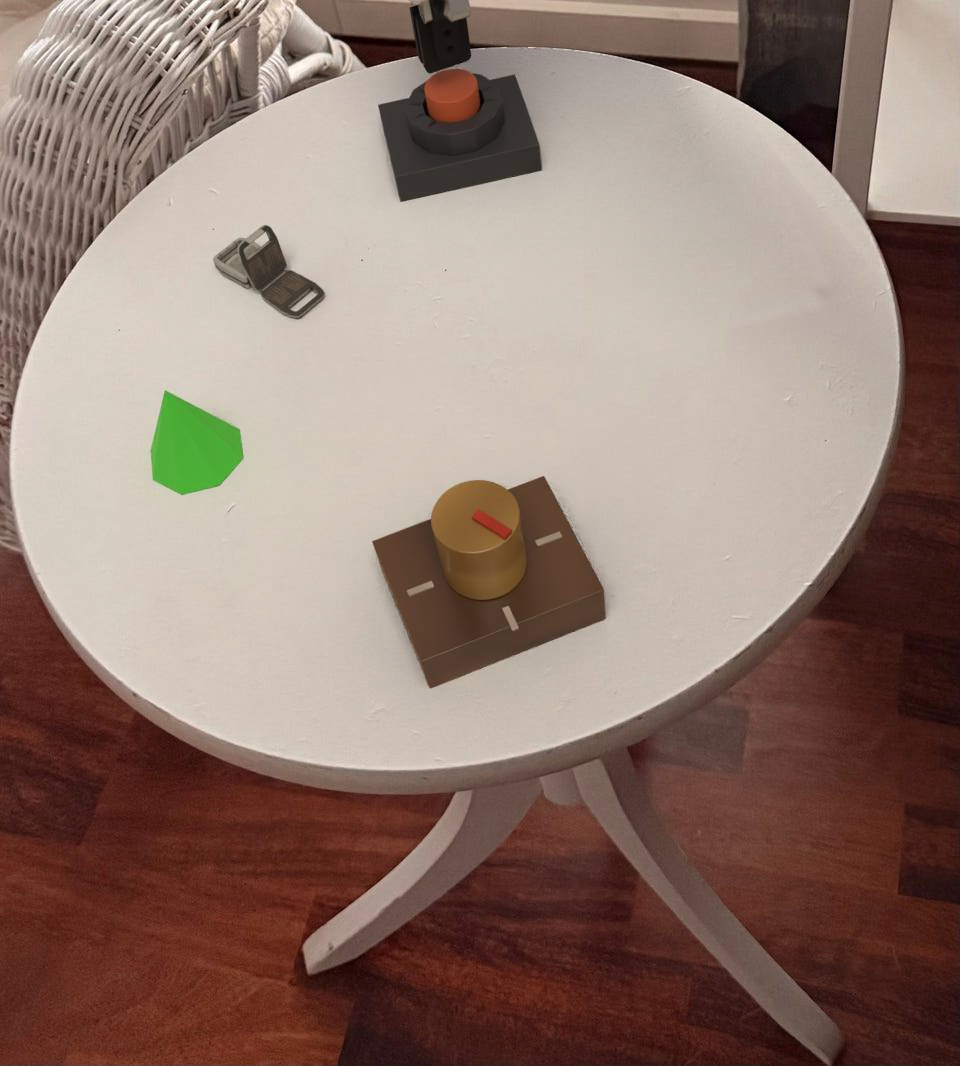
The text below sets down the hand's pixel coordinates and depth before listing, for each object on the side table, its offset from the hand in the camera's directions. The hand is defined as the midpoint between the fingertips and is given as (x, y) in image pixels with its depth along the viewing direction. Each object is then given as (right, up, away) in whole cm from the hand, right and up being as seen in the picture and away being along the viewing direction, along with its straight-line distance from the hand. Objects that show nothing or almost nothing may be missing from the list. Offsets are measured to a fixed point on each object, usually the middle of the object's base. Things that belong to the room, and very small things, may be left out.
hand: (445, 60), depth 82 cm
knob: (+3, -33, -17) cm, 37 cm away
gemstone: (-15, -27, -7) cm, 31 cm away
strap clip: (-12, -15, +1) cm, 19 cm away
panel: (+3, -35, -15) cm, 38 cm away
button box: (+1, -4, +6) cm, 7 cm away
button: (0, -2, +3) cm, 4 cm away
